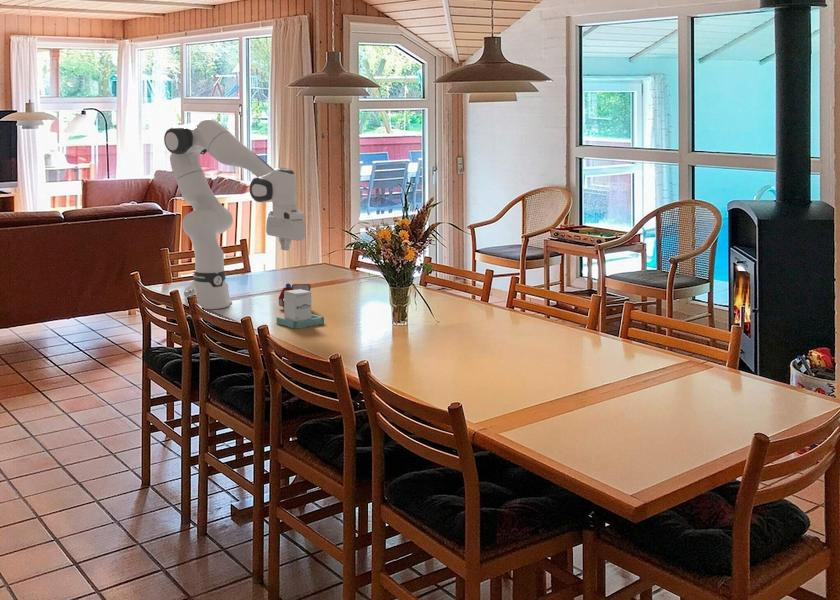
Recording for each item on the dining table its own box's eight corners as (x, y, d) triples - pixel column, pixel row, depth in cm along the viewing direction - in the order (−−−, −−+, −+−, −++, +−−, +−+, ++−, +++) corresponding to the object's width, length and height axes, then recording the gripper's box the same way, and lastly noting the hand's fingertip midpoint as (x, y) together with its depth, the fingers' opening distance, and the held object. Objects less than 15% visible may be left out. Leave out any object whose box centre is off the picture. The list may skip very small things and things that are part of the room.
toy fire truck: (280, 307, 373) (279, 281, 371) (311, 307, 373) (311, 281, 371) (278, 311, 366) (277, 284, 364) (309, 311, 366) (309, 284, 364)
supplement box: (295, 328, 337) (294, 293, 334) (283, 324, 342) (283, 290, 340) (312, 325, 341) (311, 291, 339) (300, 322, 347) (300, 288, 344)
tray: (276, 323, 343) (276, 317, 343) (305, 318, 352) (305, 312, 352) (295, 329, 335) (294, 322, 335) (324, 323, 344) (324, 317, 343)
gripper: (261, 210, 350) (262, 247, 353) (293, 215, 335) (293, 254, 338) (275, 209, 354) (276, 245, 357) (308, 214, 340) (308, 252, 342)
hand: (285, 250), depth 348 cm, fingers closed
